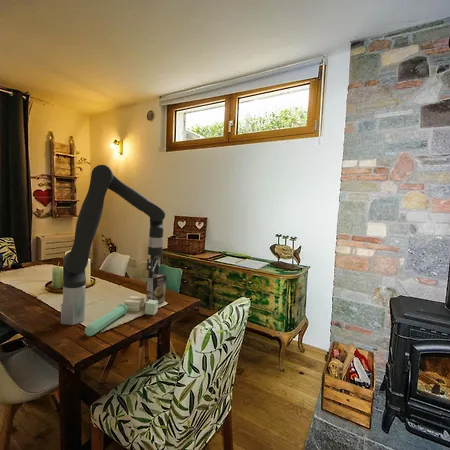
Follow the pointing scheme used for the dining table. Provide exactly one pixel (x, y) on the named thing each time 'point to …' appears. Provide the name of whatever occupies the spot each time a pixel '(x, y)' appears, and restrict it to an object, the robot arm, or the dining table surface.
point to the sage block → (151, 307)
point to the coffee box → (156, 288)
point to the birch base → (134, 303)
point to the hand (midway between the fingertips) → (153, 275)
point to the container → (105, 320)
